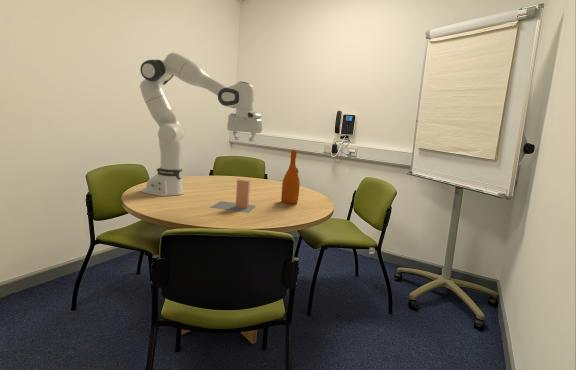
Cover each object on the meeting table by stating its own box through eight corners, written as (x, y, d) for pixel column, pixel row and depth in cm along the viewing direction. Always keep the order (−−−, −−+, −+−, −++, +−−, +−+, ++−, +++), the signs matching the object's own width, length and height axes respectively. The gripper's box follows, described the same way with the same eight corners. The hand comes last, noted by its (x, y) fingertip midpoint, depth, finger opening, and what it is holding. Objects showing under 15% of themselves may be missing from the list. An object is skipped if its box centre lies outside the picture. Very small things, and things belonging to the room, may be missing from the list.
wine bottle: (296, 205, 196) (301, 151, 190) (279, 203, 198) (283, 149, 192) (299, 201, 205) (304, 150, 200) (282, 199, 207) (287, 148, 201)
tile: (235, 206, 179) (237, 179, 177) (237, 205, 182) (238, 179, 179) (246, 208, 178) (248, 181, 176) (248, 207, 181) (250, 180, 178)
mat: (209, 208, 174) (209, 207, 174) (220, 202, 189) (220, 200, 189) (248, 214, 171) (248, 212, 171) (256, 206, 185) (256, 205, 185)
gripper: (224, 113, 186) (224, 139, 189) (257, 114, 177) (256, 142, 179) (232, 113, 191) (231, 138, 194) (264, 115, 182) (263, 141, 185)
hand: (243, 140), depth 187 cm, fingers open, 8 cm apart
